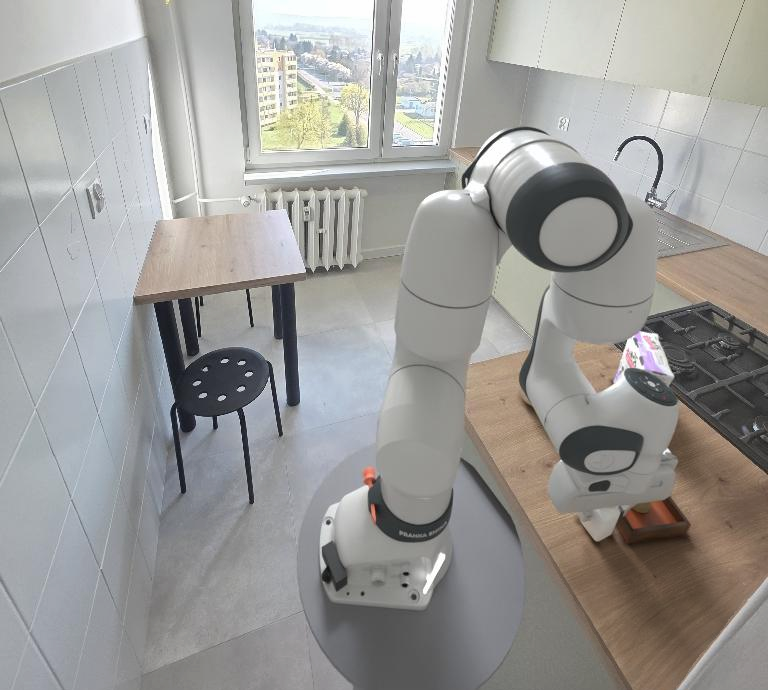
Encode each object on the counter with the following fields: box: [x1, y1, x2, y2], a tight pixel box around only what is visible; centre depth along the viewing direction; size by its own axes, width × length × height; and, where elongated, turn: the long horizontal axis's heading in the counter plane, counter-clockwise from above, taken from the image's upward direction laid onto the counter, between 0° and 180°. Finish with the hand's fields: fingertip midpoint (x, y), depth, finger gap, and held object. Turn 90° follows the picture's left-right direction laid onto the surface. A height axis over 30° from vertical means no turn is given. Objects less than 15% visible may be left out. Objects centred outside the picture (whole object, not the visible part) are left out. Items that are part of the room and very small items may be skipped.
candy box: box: [613, 330, 675, 389], centre depth 93 cm, size 14×6×16 cm, turn 161°
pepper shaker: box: [579, 507, 620, 542], centre depth 70 cm, size 4×4×10 cm
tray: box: [615, 495, 692, 545], centre depth 80 cm, size 11×22×3 cm, turn 8°
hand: (600, 514), depth 71 cm, fingers open, 5 cm apart
